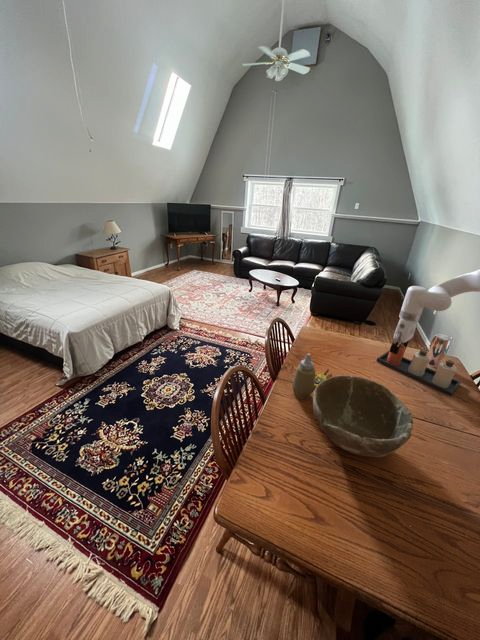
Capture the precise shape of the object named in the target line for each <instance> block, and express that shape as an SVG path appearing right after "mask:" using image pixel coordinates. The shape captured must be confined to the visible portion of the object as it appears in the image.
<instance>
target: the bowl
mask: <svg viewBox="0 0 480 640" xmlns="http://www.w3.org/2000/svg"><path fill="white" fill-rule="evenodd" d="M312 408H313V415H314V418H315V420H316V422H317V424H318V426H319V428H320V429H321V430H322V432H323V434H325V436H326V437H328V439H329V440H330V441H331V442H332V443H334V445H336V446H337V447H339V448H340V449H342V450H344V451H345V452H348V453H351V454H353V455H357V456H359V457H372V458H383V457H386V456H387V455H390V454H391V453H393V452H395V451H397V450H399V449H400V448H401V447H403V446H404V445H405V444H406V443H407V442H408V441H409V439H410V438H411V437H412V435H411V433H412V430H413V427H414V426H413V424H414V423H413V422H414V420H413V415H412V412H411V411H410V409H409V408H408V407H407V405H405V403H404V402H403V401H402V400H401V399H399V397H398V396H396V394H394V393H393V392H392V391H391V390H390V389H389V388H388V387H386V386H384V385H383V384H381V383H379V382H377V381H374V380H371V379H367V378H365V377H362V376H356V375H351V376H350V375H347V374H345V375H344V374H341V375H340V374H339V375H334V376H331V377H327V378H326V380H324V381H322V382H321V383H319V384H318V386H317V387H316V389H315V388H314V390H313V396H312Z"/></svg>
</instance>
